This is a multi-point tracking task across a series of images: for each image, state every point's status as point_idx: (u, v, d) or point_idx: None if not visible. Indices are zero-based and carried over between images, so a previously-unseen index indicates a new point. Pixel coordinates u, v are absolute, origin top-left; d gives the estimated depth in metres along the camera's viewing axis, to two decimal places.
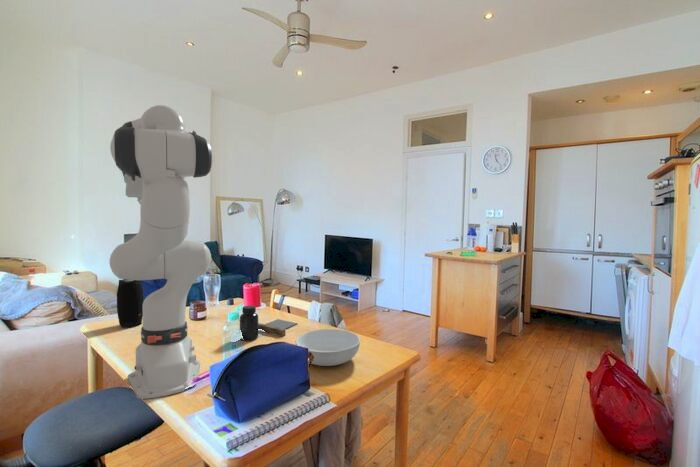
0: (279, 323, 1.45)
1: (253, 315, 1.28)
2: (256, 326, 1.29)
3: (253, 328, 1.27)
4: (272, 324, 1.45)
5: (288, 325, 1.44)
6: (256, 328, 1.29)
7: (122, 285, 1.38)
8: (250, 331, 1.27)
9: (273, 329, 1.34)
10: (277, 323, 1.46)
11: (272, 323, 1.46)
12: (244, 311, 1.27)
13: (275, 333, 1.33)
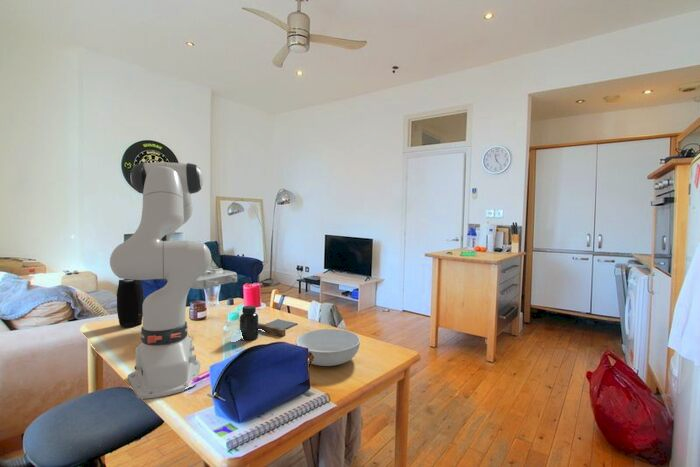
0: (279, 323, 1.45)
1: (253, 315, 1.28)
2: (256, 326, 1.29)
3: (253, 328, 1.27)
4: (272, 324, 1.45)
5: (288, 325, 1.44)
6: (256, 328, 1.29)
7: (122, 285, 1.38)
8: (250, 331, 1.27)
9: (273, 329, 1.34)
10: (277, 323, 1.46)
11: (272, 323, 1.46)
12: (244, 311, 1.27)
13: (275, 333, 1.33)
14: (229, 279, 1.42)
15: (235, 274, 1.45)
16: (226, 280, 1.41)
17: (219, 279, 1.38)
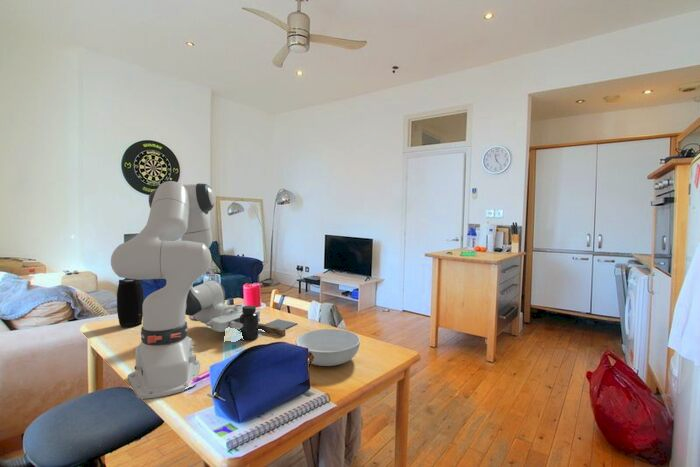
0: (279, 323, 1.45)
1: (253, 315, 1.28)
2: (256, 326, 1.29)
3: (253, 328, 1.27)
4: (272, 324, 1.45)
5: (288, 325, 1.44)
6: (256, 328, 1.29)
7: (122, 285, 1.38)
8: (250, 331, 1.27)
9: (273, 329, 1.34)
10: (277, 323, 1.46)
11: (272, 323, 1.46)
12: (244, 311, 1.27)
13: (275, 333, 1.33)
14: None
15: (258, 312, 1.39)
16: None
17: None
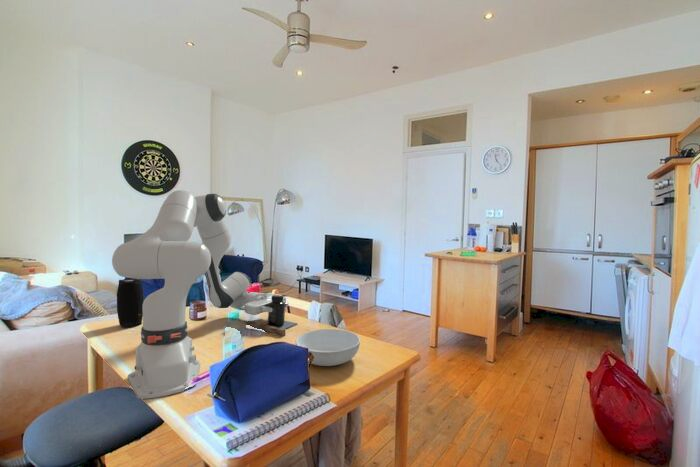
0: None
1: (281, 303, 1.42)
2: (284, 313, 1.43)
3: (281, 314, 1.41)
4: None
5: (288, 325, 1.44)
6: (283, 315, 1.43)
7: (122, 285, 1.38)
8: (278, 317, 1.41)
9: (273, 329, 1.34)
10: None
11: None
12: (273, 299, 1.42)
13: (275, 333, 1.33)
14: None
15: (284, 298, 1.54)
16: None
17: None
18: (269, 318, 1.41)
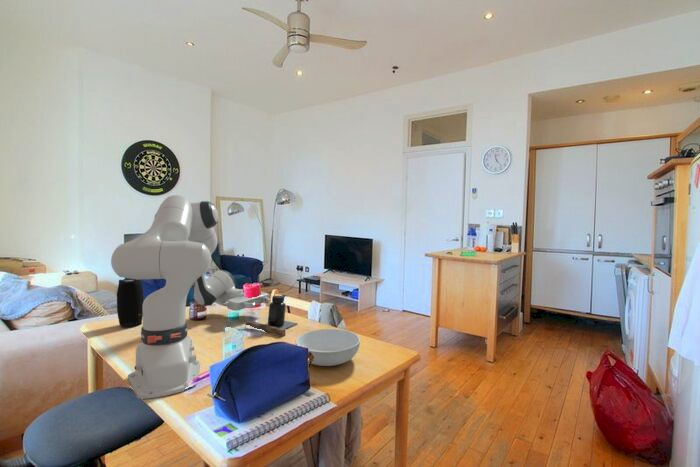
0: None
1: (282, 304, 1.42)
2: (284, 314, 1.43)
3: (281, 315, 1.41)
4: None
5: (288, 325, 1.44)
6: (283, 316, 1.42)
7: (122, 285, 1.38)
8: (279, 318, 1.40)
9: (273, 329, 1.34)
10: None
11: None
12: (274, 300, 1.41)
13: (275, 333, 1.33)
14: (262, 300, 1.56)
15: (267, 295, 1.59)
16: (260, 301, 1.56)
17: (254, 300, 1.53)
18: (269, 319, 1.41)
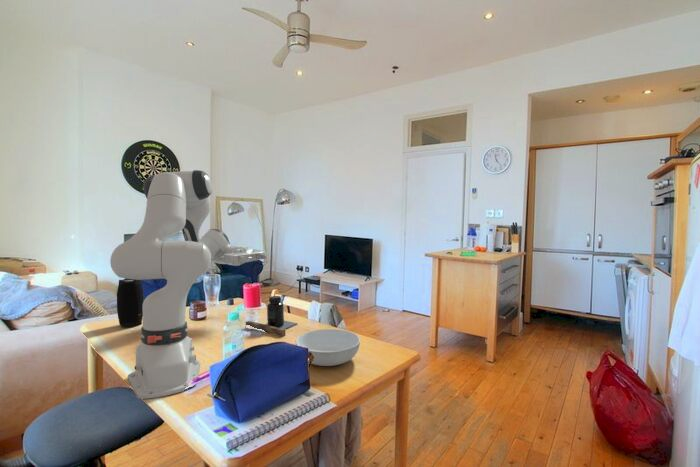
0: None
1: (280, 304, 1.42)
2: (283, 313, 1.43)
3: (280, 315, 1.41)
4: None
5: (288, 325, 1.44)
6: (282, 315, 1.42)
7: (122, 285, 1.38)
8: (278, 318, 1.40)
9: (273, 329, 1.34)
10: None
11: None
12: (271, 301, 1.41)
13: (275, 333, 1.33)
14: (259, 256, 1.56)
15: (264, 252, 1.59)
16: (256, 257, 1.56)
17: (250, 256, 1.53)
18: (269, 320, 1.41)
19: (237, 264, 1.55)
